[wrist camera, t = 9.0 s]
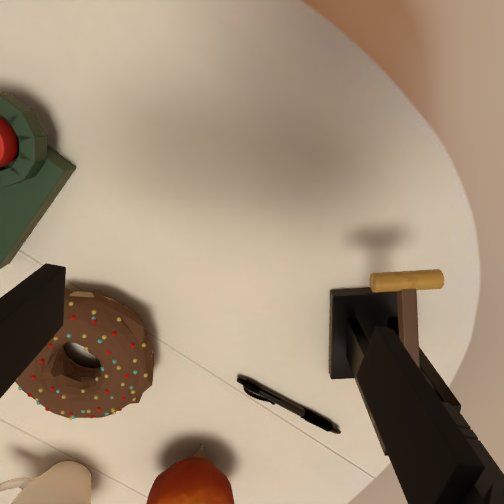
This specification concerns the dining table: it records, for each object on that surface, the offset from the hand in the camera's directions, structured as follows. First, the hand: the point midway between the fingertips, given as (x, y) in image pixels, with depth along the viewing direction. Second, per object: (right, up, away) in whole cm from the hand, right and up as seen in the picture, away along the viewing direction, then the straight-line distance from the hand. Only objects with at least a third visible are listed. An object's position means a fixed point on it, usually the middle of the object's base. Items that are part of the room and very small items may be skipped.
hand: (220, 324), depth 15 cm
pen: (+5, -14, +26) cm, 30 cm away
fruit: (-5, -23, +30) cm, 38 cm away
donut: (-15, -6, +23) cm, 28 cm away
